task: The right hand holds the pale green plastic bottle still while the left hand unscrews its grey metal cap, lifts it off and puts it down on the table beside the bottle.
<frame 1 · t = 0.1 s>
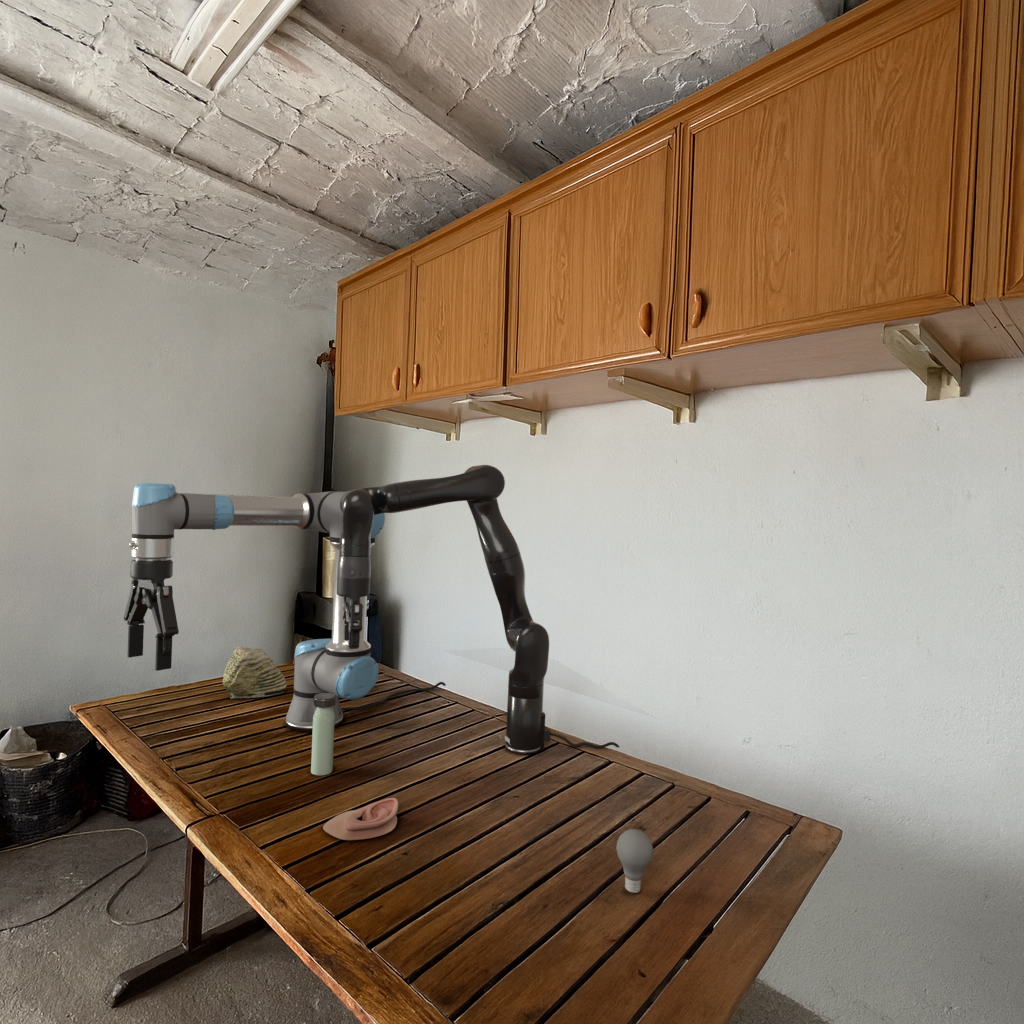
left hand: (148, 662, 129), 28 cm above the table, tool pointing down, fingers open, 13 cm apart
right hand: (351, 644, 147), 29 cm above the table, tool pointing down, fingers open, 8 cm apart
fossil: (254, 694, 198), on the table
bottle: (321, 771, 146), on the table
cap: (324, 697, 146), point 17 cm above the table, screwed on, not yet turned
anatomical model: (361, 826, 122), on the table
light bulb: (632, 891, 106), on the table
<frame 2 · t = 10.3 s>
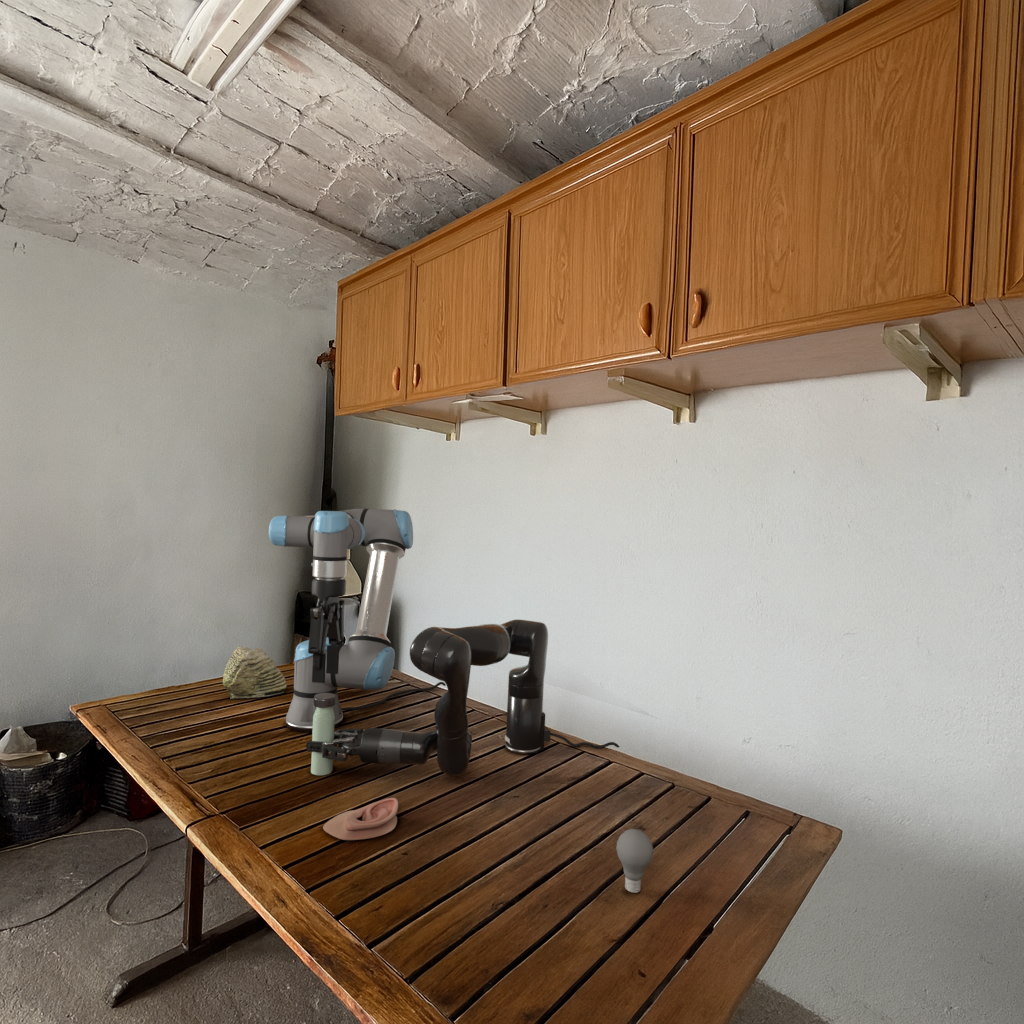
left hand: (325, 677, 146), 22 cm above the table, tool pointing down, fingers open, 7 cm apart
right hand: (311, 741, 146), 7 cm above the table, tool horizontal, fingers closed on bottle, 4 cm apart
bottle: (321, 771, 146), on the table, touching right hand
everything else where it was.
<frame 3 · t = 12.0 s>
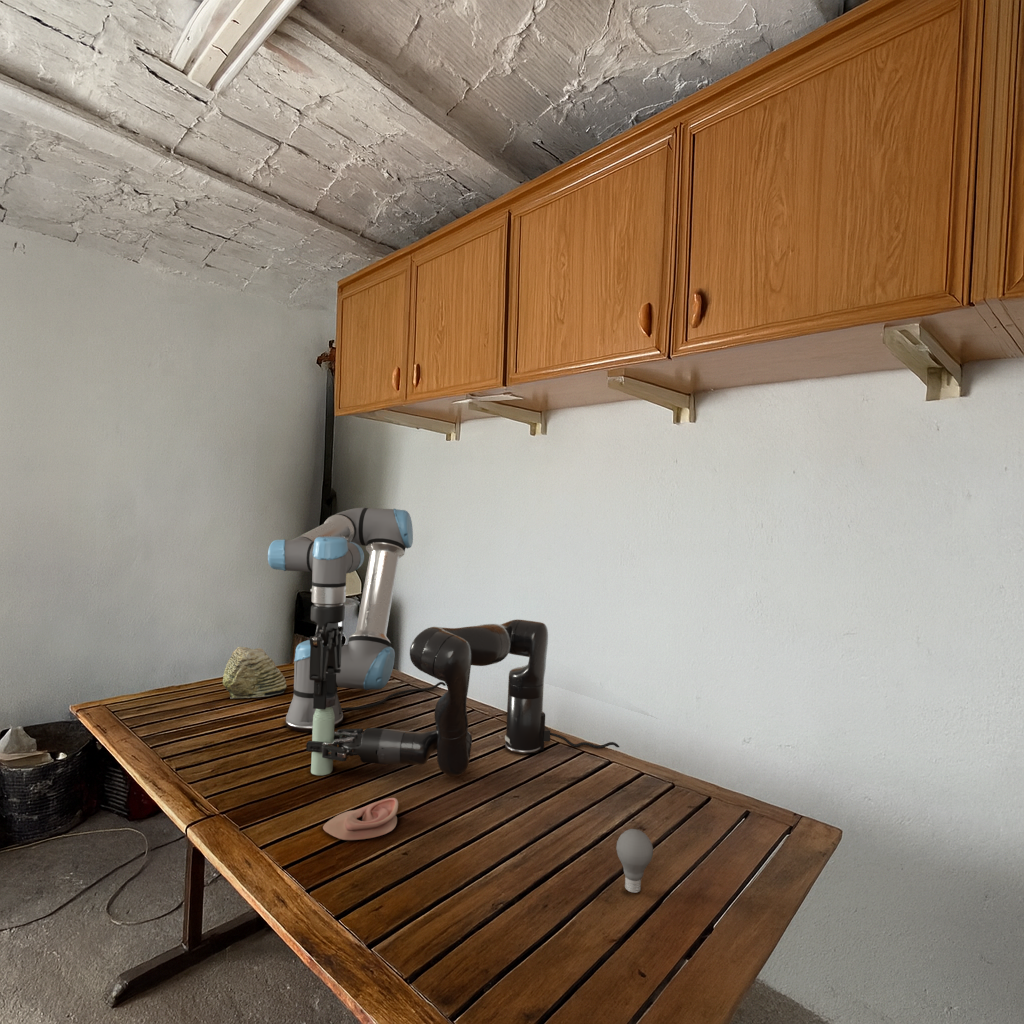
left hand: (324, 704, 146), 15 cm above the table, tool pointing down, fingers closed on cap, 5 cm apart
right hand: (311, 741, 146), 7 cm above the table, tool horizontal, fingers closed on bottle, 4 cm apart
bottle: (321, 771, 146), on the table, touching right hand
cap: (324, 697, 146), point 17 cm above the table, screwed on, not yet turned, touching left hand
everything else where it was.
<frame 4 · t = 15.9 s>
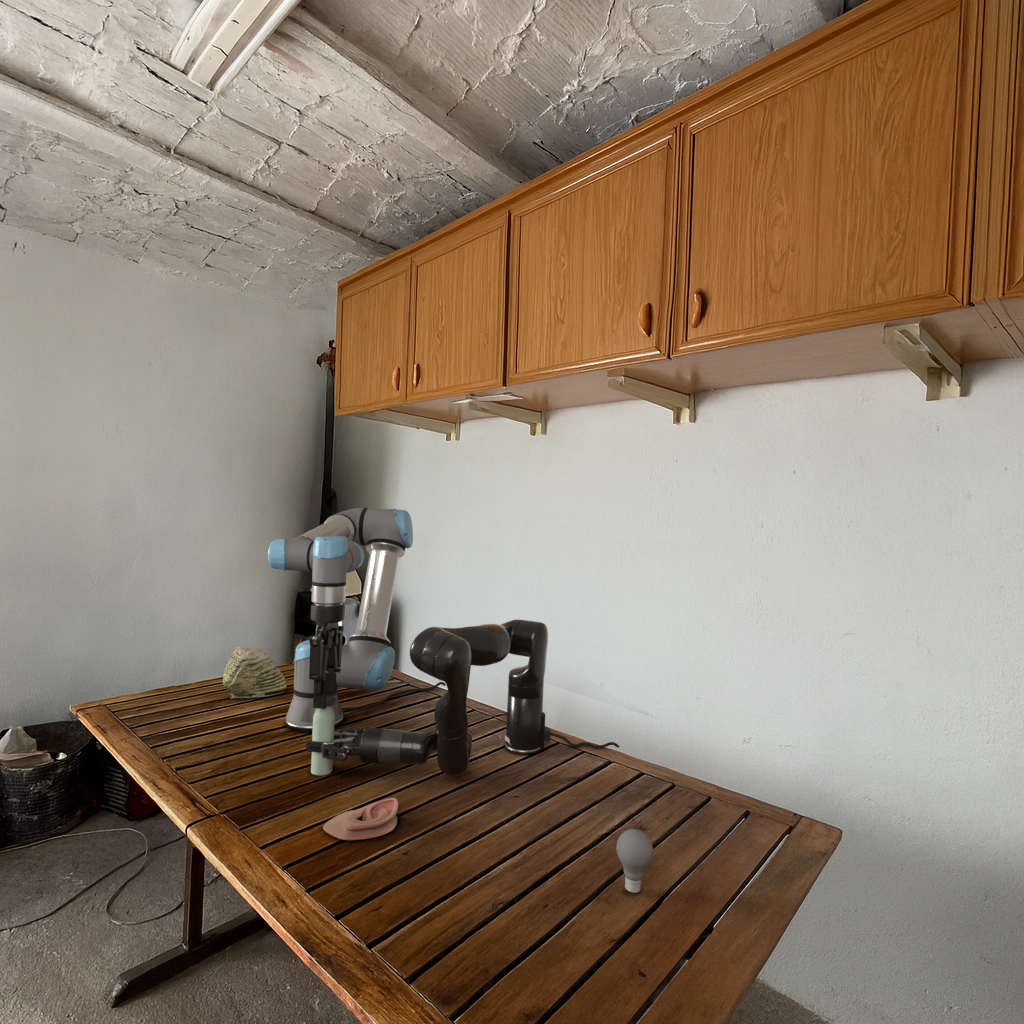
left hand: (324, 704, 146), 16 cm above the table, tool pointing down, fingers closed on cap, 5 cm apart
right hand: (311, 741, 146), 7 cm above the table, tool horizontal, fingers closed on bottle, 4 cm apart
bottle: (321, 771, 146), on the table, touching right hand
cap: (324, 696, 146), point 17 cm above the table, turned 135° so far, risen 0.1 cm, still on its thread, touching left hand
everything else where it was.
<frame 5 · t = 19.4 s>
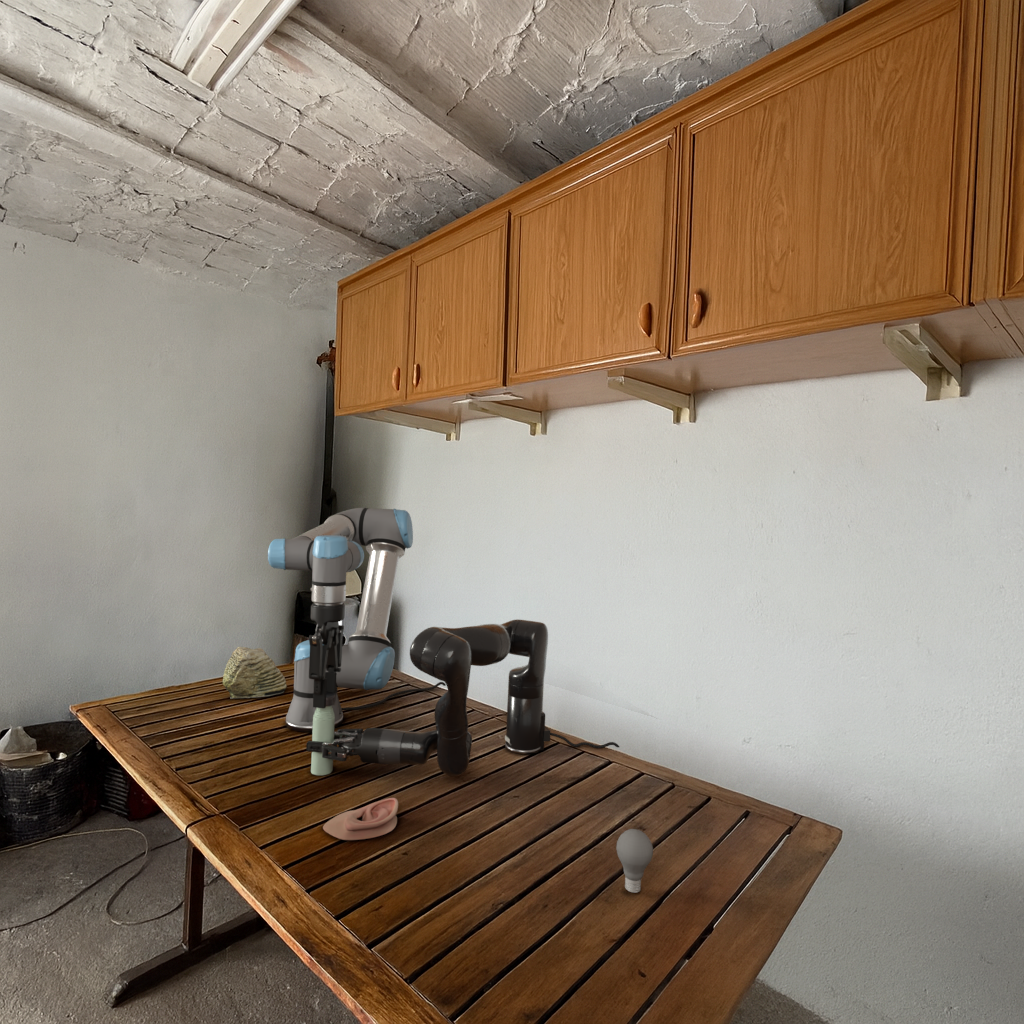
left hand: (324, 703, 146), 16 cm above the table, tool pointing down, fingers closed on cap, 5 cm apart
right hand: (311, 741, 146), 7 cm above the table, tool horizontal, fingers closed on bottle, 4 cm apart
bottle: (321, 771, 146), on the table, touching right hand
cap: (324, 695, 146), point 17 cm above the table, turned 269° so far, risen 0.2 cm, still on its thread, touching left hand
everything else where it was.
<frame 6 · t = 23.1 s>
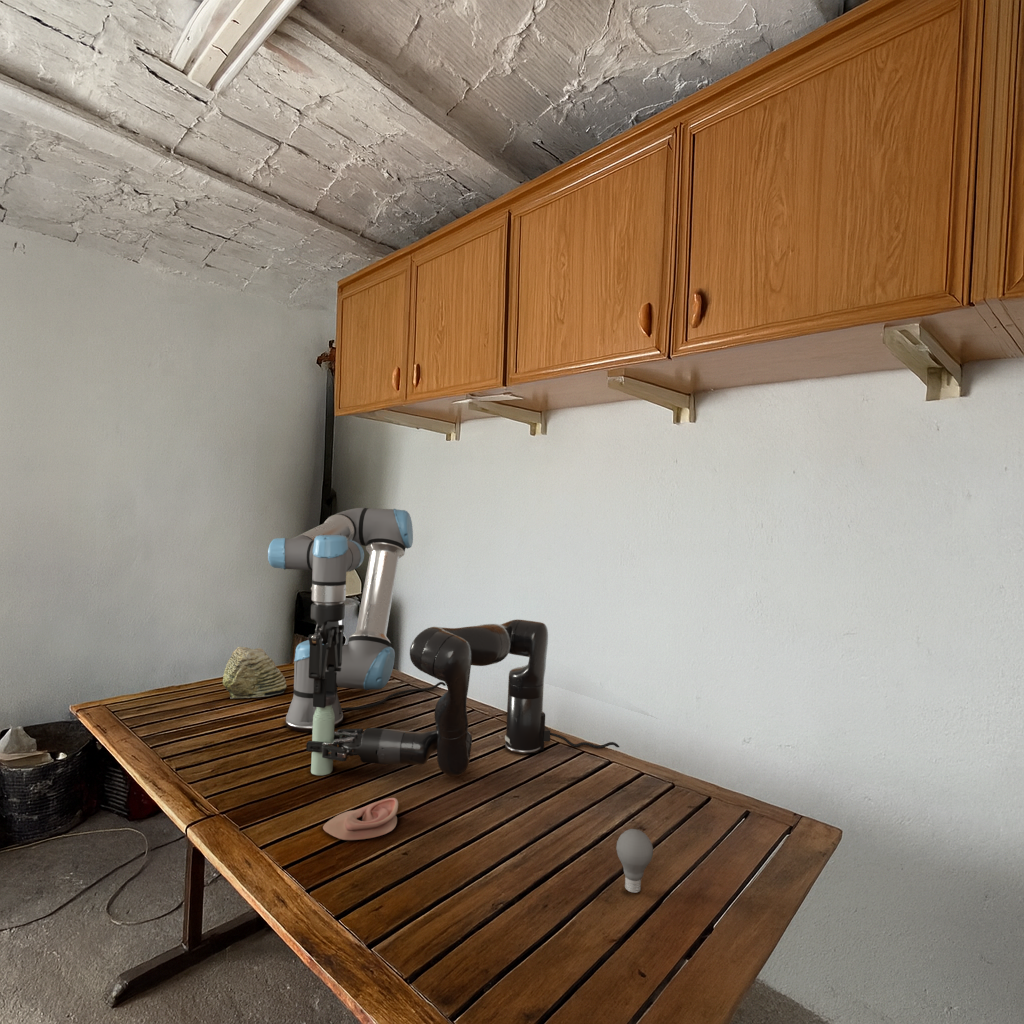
left hand: (324, 702, 146), 16 cm above the table, tool pointing down, fingers closed on cap, 5 cm apart
right hand: (311, 741, 146), 7 cm above the table, tool horizontal, fingers closed on bottle, 4 cm apart
bottle: (321, 771, 146), on the table, touching right hand
cap: (324, 695, 146), point 18 cm above the table, turned 404° so far, risen 0.4 cm, still on its thread, touching left hand
everything else where it was.
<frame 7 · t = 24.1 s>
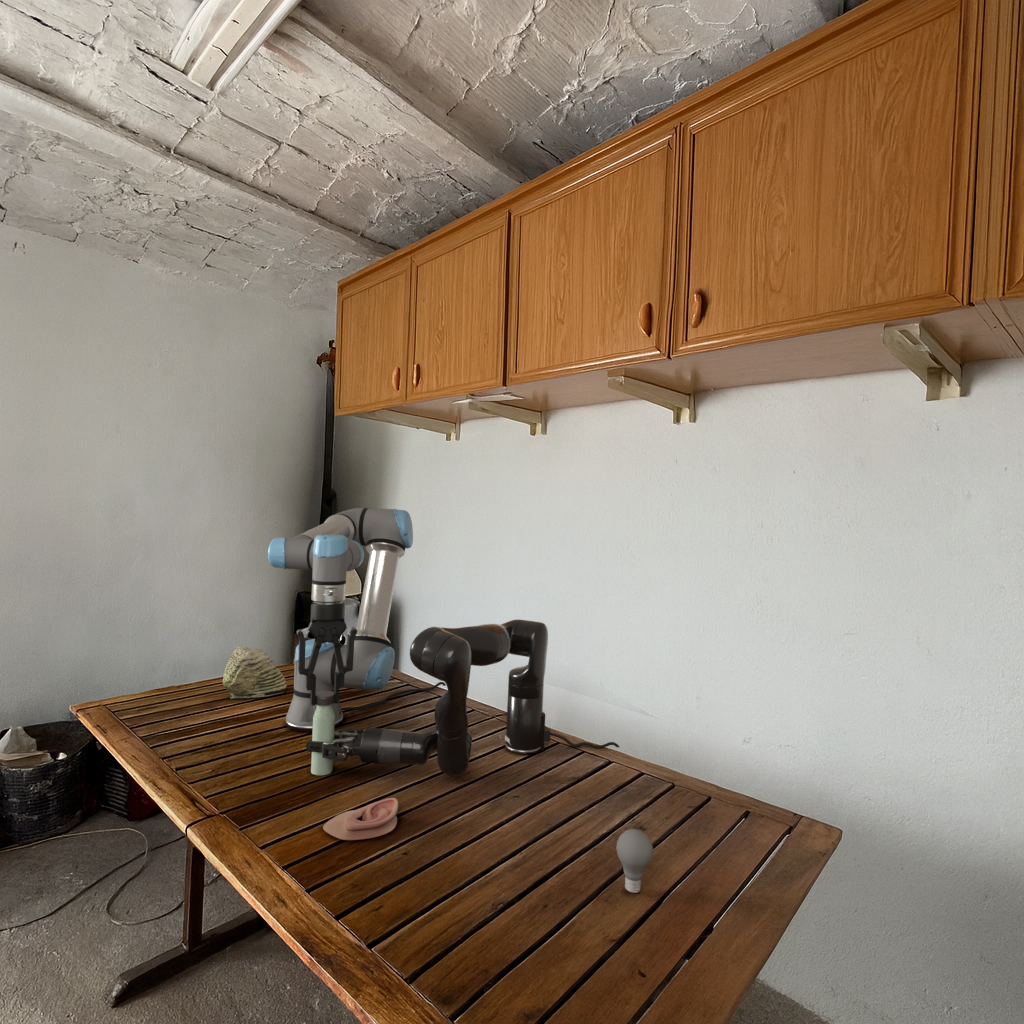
left hand: (324, 702, 146), 16 cm above the table, tool pointing down, fingers closed on cap, 5 cm apart
right hand: (311, 741, 146), 7 cm above the table, tool horizontal, fingers closed on bottle, 4 cm apart
bottle: (321, 771, 146), on the table, touching right hand
cap: (324, 694, 146), point 18 cm above the table, off its thread, touching left hand
everything else where it was.
when the left hand's fingers open (2 cm above the table, at t = 29.1 s): cap drops 2 cm, point 2 cm above the table.
when the right hand's fingers open (7 cm above the table, at t = 30.4 s): bottle stays where it is, on the table.
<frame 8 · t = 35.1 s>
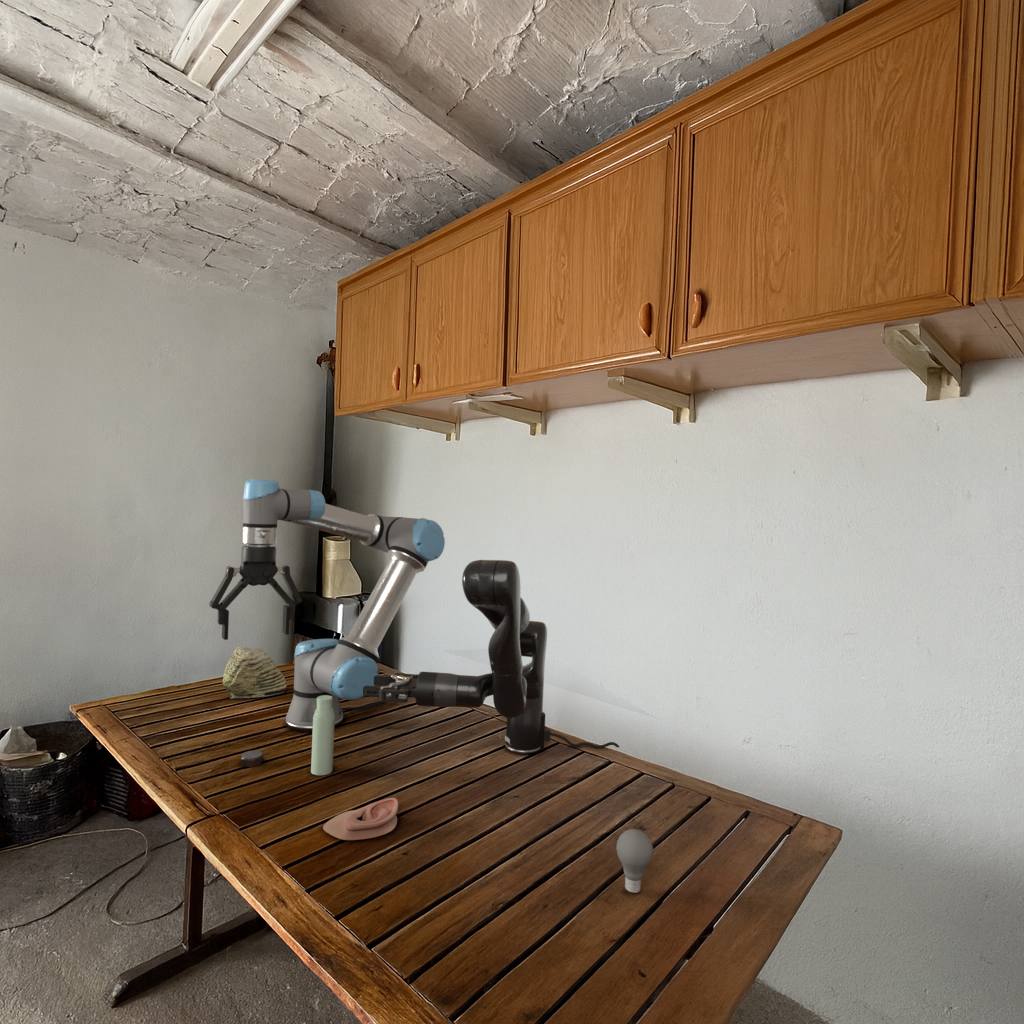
left hand: (256, 636, 148), 30 cm above the table, tool pointing down, fingers open, 13 cm apart
right hand: (368, 685, 145), 21 cm above the table, tool horizontal, fingers open, 8 cm apart
bottle: (321, 771, 146), on the table
cap: (251, 755, 149), point 2 cm above the table, off its thread
everything else where it was.
at the end: cap came off its thread; cap point 1.8 cm above the table; the left hand is holding nothing; the right hand is holding nothing; bottle tilted 0°; bottle moved 0.0 cm from its start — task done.
